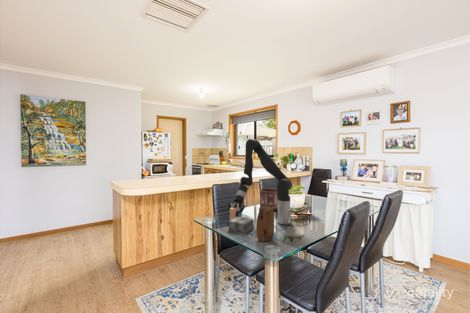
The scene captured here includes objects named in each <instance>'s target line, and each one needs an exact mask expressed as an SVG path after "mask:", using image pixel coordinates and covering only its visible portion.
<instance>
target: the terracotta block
mask: <svg viewBox="0 0 470 313" xmlns="http://www.w3.org/2000/svg"><path fill="white" fill-rule="evenodd" d="M237 210H238V208H234V207H233V208H230V216H229V221H230V220H232V219H234V218H236V216H235V215H236V212H237Z"/></svg>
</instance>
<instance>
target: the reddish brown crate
mask: <svg viewBox="0 0 470 313" xmlns="http://www.w3.org/2000/svg"><path fill="white" fill-rule="evenodd" d="M259 198H260V199H259V205H260V207H262V206H269V207H271V208H273V209H274V211H275V210H278V207H277V205H278V196H277V188H276V189H275V188H261V189H259Z"/></svg>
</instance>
